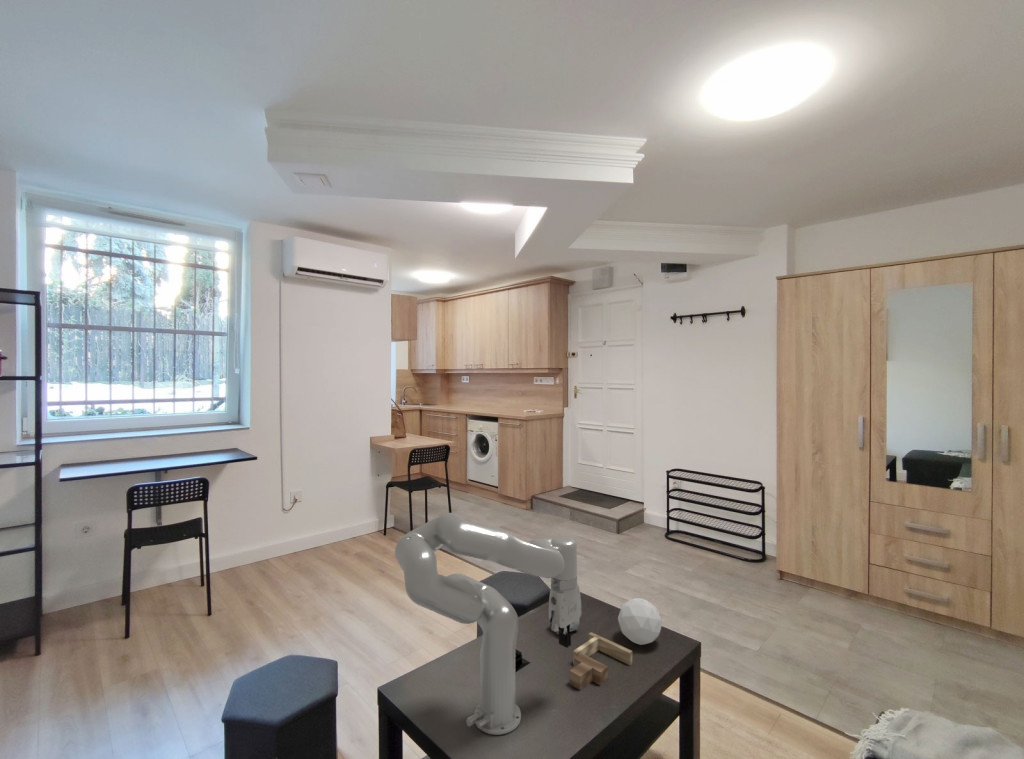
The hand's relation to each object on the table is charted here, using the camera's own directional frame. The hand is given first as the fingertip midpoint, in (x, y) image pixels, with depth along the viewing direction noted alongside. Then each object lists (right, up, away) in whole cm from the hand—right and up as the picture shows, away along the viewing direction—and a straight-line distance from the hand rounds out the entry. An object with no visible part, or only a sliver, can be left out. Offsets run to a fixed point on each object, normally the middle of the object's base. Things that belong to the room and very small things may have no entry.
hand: (564, 644), depth 135 cm
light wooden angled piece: (+13, -15, +16) cm, 26 cm away
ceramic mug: (+4, -15, +36) cm, 39 cm away
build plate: (-15, -15, +14) cm, 26 cm away
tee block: (+8, -15, +8) cm, 18 cm away
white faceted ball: (+29, -15, +29) cm, 44 cm away
